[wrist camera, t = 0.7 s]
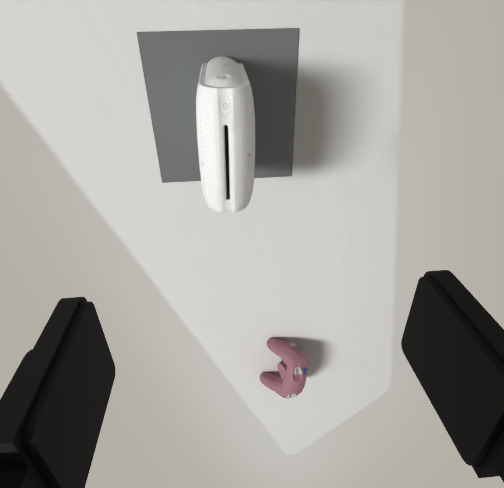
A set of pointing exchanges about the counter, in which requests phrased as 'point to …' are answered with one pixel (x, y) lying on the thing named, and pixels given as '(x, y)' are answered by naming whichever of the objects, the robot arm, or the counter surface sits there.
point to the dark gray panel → (185, 90)
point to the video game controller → (286, 370)
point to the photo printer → (225, 134)
